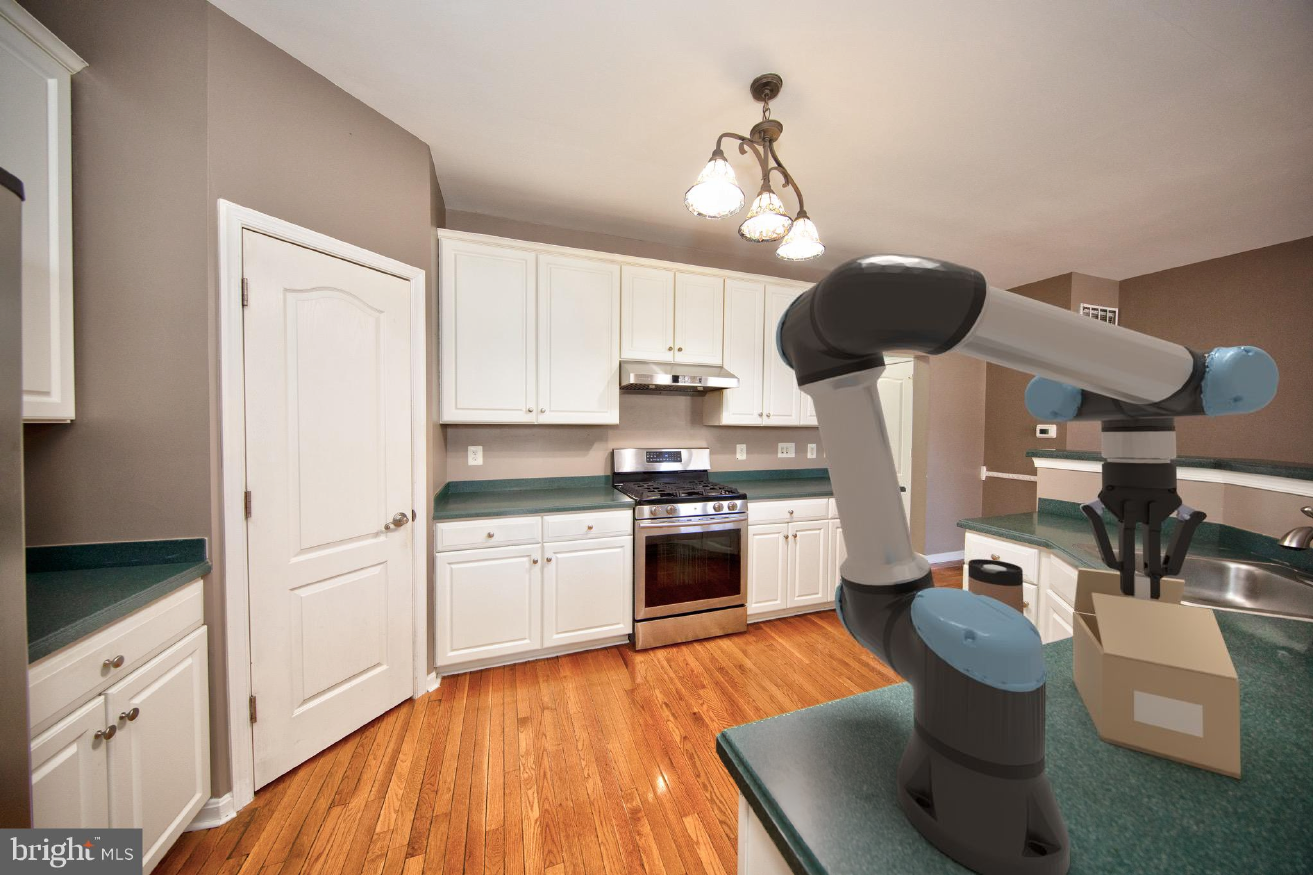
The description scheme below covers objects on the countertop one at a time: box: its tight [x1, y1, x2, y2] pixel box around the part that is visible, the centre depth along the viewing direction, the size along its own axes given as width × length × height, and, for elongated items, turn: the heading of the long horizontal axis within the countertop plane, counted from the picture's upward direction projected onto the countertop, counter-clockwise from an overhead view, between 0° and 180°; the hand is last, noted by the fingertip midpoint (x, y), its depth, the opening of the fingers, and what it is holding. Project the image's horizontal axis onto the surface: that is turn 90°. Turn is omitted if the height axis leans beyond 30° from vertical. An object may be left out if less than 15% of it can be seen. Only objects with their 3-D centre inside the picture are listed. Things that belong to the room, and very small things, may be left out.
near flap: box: [1091, 593, 1239, 680], centre depth 59 cm, size 9×12×1 cm
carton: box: [1072, 611, 1242, 780], centre depth 64 cm, size 18×12×12 cm, turn 145°
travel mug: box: [967, 558, 1025, 616], centre depth 75 cm, size 8×8×20 cm
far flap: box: [1073, 567, 1186, 615], centre depth 70 cm, size 9×12×1 cm
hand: (1140, 618), depth 65 cm, fingers closed
